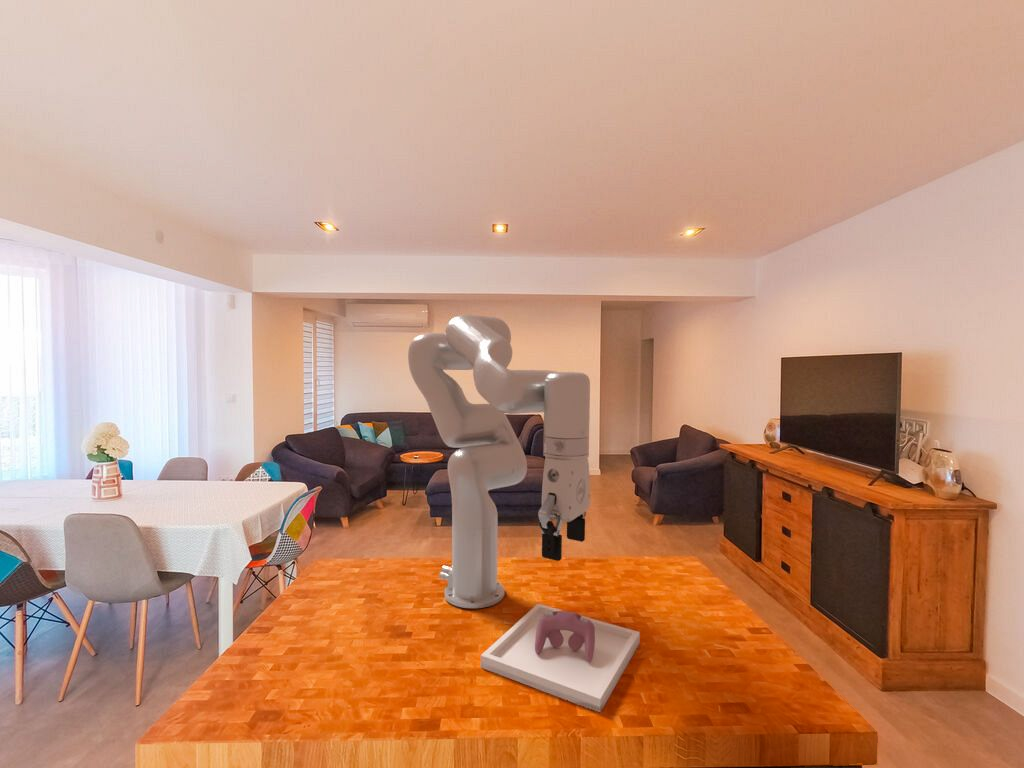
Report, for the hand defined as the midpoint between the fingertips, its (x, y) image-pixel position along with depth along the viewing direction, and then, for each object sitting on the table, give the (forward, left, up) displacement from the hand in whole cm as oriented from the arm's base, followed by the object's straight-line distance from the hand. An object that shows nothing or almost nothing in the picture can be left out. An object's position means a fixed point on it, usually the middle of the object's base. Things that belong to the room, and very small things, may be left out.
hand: (564, 548), depth 81 cm
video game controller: (0, 0, -17) cm, 17 cm away
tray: (0, 0, -18) cm, 18 cm away
